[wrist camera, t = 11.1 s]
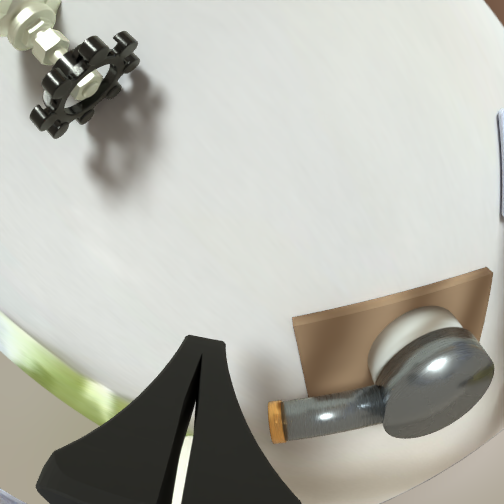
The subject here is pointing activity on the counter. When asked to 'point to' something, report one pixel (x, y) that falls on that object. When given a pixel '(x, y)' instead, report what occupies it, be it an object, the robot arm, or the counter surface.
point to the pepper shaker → (182, 470)
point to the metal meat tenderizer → (397, 392)
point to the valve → (65, 63)
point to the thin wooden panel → (384, 330)
